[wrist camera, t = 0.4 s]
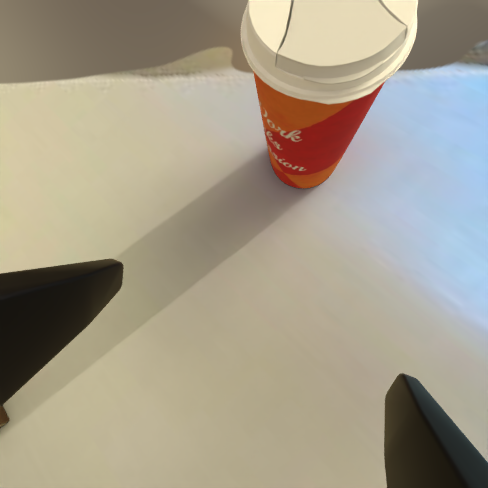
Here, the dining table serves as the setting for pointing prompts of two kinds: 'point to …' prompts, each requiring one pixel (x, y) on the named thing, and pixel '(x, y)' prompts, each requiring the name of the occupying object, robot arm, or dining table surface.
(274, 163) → the paper cup
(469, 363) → the dining table surface
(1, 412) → the caddy
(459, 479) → the robot arm
